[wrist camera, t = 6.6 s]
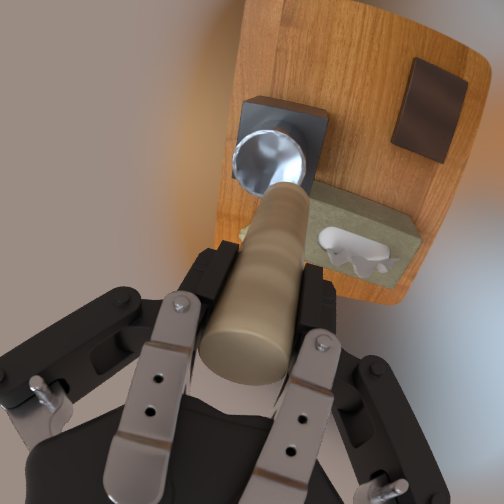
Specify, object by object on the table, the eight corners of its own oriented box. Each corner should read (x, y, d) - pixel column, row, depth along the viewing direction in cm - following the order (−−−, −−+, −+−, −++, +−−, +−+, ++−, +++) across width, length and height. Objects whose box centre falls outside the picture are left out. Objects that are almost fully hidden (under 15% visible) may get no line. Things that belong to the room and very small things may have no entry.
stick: (284, 171, 18) (234, 315, 8) (319, 204, 19) (309, 368, 9) (252, 202, 19) (181, 352, 10) (286, 232, 20) (247, 394, 10)
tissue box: (411, 216, 45) (440, 274, 32) (387, 262, 51) (402, 326, 38) (306, 176, 46) (300, 223, 33) (288, 228, 51) (275, 288, 38)
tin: (274, 107, 32) (264, 114, 26) (320, 149, 33) (321, 166, 28) (235, 150, 36) (218, 167, 30) (279, 188, 37) (271, 212, 32)
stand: (258, 95, 40) (242, 101, 32) (326, 110, 39) (328, 119, 31) (248, 157, 46) (231, 178, 38) (311, 171, 45) (309, 196, 37)
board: (413, 57, 32) (416, 57, 30) (464, 82, 31) (468, 82, 30) (390, 141, 40) (392, 143, 38) (439, 161, 39) (443, 164, 38)
